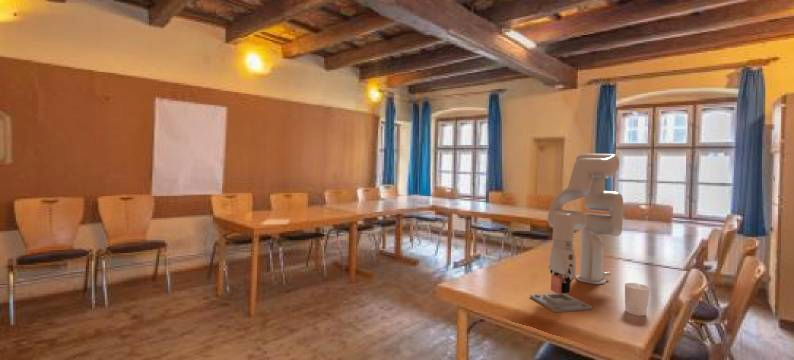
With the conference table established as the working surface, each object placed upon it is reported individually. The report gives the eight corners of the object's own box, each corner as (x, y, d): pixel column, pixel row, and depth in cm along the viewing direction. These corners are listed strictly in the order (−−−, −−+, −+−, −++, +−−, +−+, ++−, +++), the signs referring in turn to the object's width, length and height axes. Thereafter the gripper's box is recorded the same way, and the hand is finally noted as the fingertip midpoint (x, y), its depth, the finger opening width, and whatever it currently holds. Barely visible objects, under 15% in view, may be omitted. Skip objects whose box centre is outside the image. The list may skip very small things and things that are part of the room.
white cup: (618, 308, 150) (620, 282, 150) (638, 308, 151) (639, 282, 150) (632, 316, 142) (634, 289, 142) (653, 316, 143) (655, 289, 143)
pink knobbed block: (561, 289, 157) (562, 272, 157) (570, 293, 152) (570, 276, 152) (550, 290, 156) (551, 273, 156) (558, 294, 151) (559, 276, 151)
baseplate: (564, 294, 164) (564, 289, 164) (592, 309, 149) (592, 303, 149) (530, 297, 160) (530, 292, 160) (555, 312, 145) (555, 306, 145)
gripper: (586, 248, 146) (584, 297, 147) (556, 239, 162) (554, 283, 163) (569, 249, 144) (566, 298, 145) (541, 240, 161) (538, 284, 161)
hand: (560, 289), depth 154 cm, fingers closed on pink knobbed block, 5 cm apart
